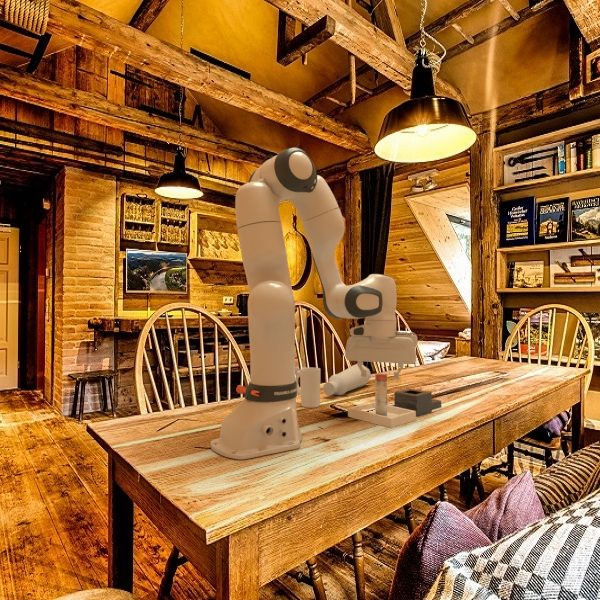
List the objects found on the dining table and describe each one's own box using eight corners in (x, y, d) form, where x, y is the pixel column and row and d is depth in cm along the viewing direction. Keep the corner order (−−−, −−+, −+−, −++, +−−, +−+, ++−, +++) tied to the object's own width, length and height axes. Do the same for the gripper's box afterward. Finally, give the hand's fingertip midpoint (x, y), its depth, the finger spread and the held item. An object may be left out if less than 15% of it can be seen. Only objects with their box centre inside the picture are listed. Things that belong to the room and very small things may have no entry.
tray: (391, 428, 112) (391, 418, 112) (348, 416, 124) (347, 408, 124) (416, 420, 120) (415, 411, 120) (373, 409, 132) (373, 401, 132)
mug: (324, 405, 138) (324, 368, 138) (311, 409, 133) (311, 371, 133) (302, 400, 145) (302, 366, 145) (288, 404, 140) (288, 368, 140)
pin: (379, 418, 120) (379, 376, 120) (373, 415, 123) (372, 374, 123) (389, 416, 121) (389, 375, 121) (382, 414, 124) (382, 373, 124)
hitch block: (416, 416, 123) (416, 396, 123) (394, 411, 129) (394, 392, 129) (445, 407, 134) (445, 388, 134) (423, 403, 140) (423, 385, 140)
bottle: (347, 375, 176) (313, 390, 150) (358, 358, 174) (325, 370, 148) (364, 389, 172) (332, 407, 147) (376, 371, 170) (345, 387, 144)
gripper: (418, 330, 122) (417, 378, 122) (348, 328, 128) (348, 373, 128) (417, 332, 116) (416, 382, 116) (344, 329, 122) (343, 376, 122)
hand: (379, 377), depth 122 cm, fingers open, 8 cm apart
